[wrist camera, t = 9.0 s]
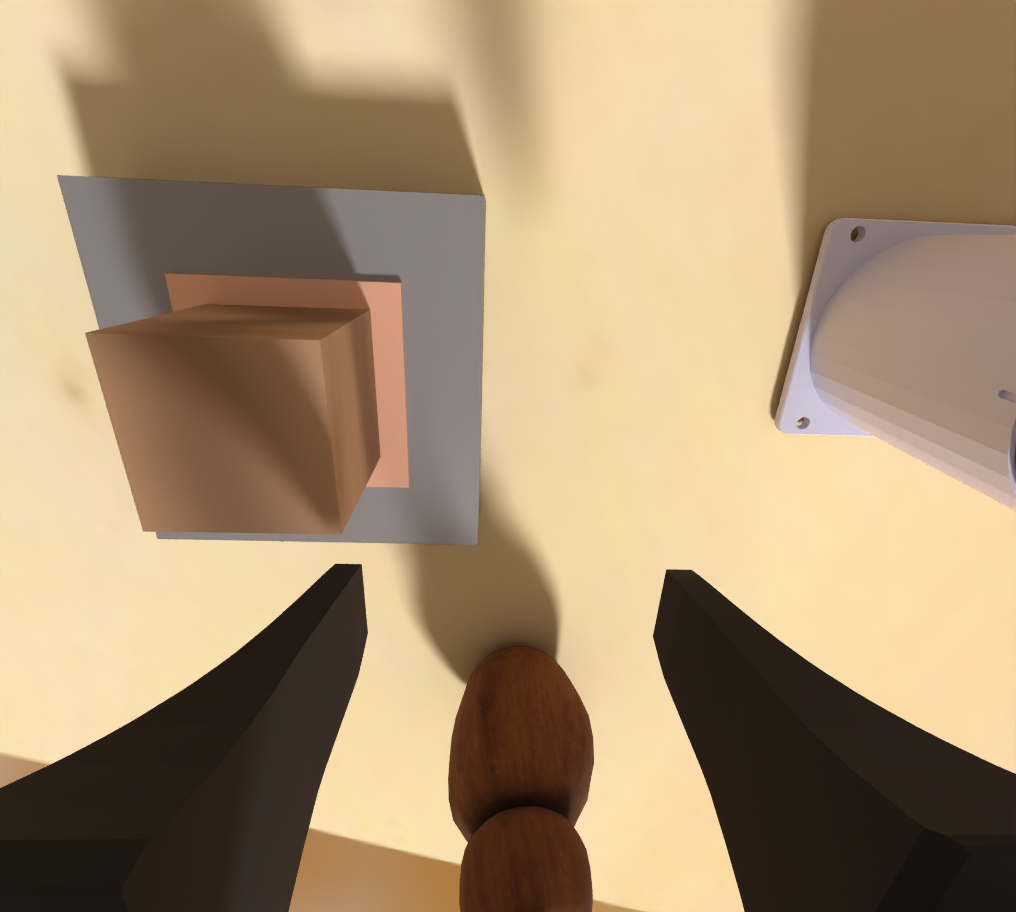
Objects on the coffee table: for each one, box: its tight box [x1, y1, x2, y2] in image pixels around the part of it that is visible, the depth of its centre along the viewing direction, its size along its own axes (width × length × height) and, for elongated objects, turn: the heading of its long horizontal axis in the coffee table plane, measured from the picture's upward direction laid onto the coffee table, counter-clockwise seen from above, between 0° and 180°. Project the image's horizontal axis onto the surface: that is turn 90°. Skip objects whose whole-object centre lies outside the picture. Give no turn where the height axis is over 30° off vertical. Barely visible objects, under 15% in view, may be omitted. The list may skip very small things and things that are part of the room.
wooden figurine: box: [448, 647, 594, 912], centre depth 19 cm, size 7×6×15 cm
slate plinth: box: [57, 175, 486, 545], centre depth 18 cm, size 12×12×3 cm
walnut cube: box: [85, 304, 381, 535], centre depth 14 cm, size 5×5×5 cm
